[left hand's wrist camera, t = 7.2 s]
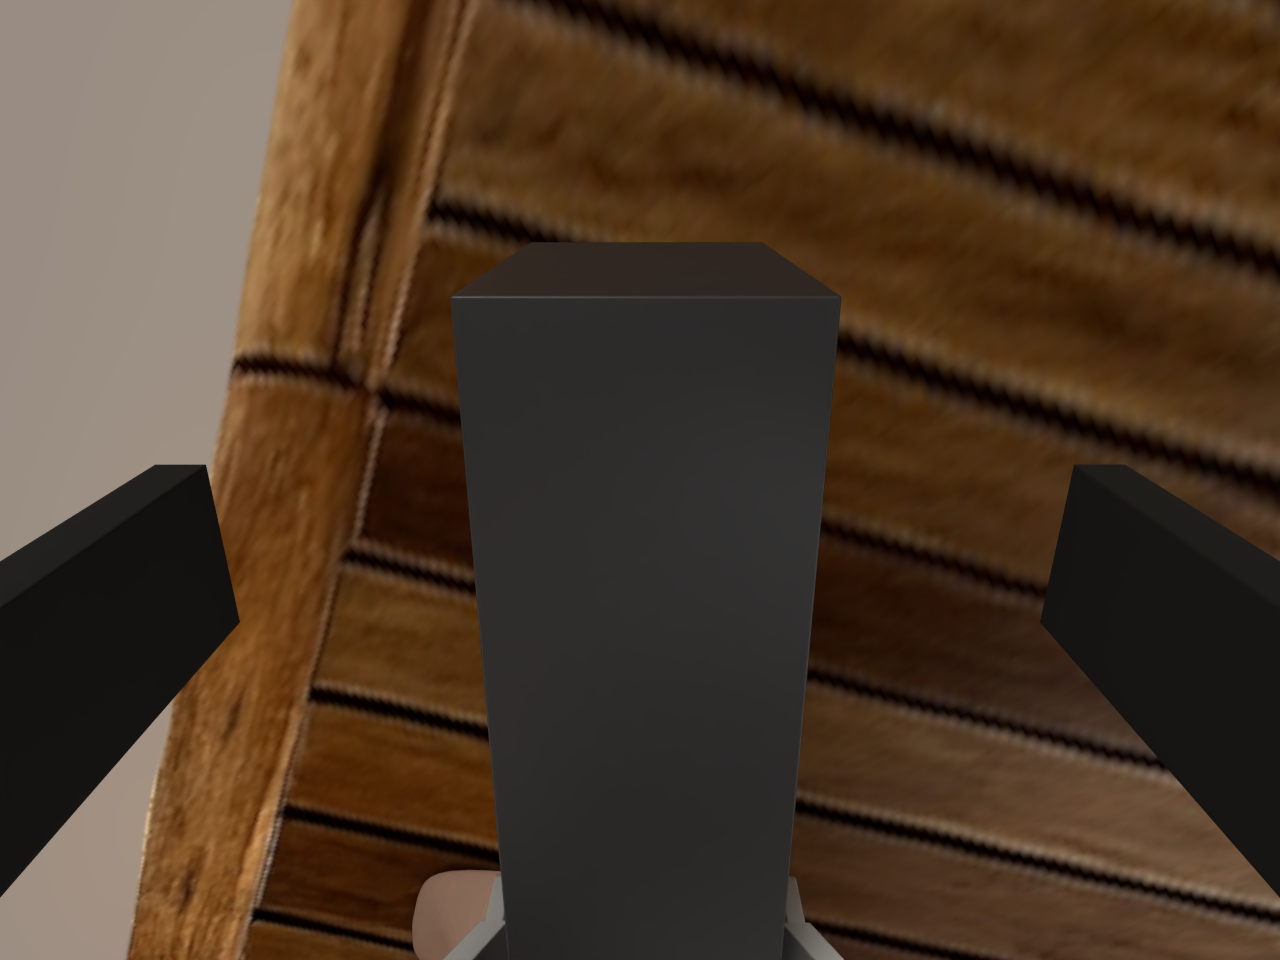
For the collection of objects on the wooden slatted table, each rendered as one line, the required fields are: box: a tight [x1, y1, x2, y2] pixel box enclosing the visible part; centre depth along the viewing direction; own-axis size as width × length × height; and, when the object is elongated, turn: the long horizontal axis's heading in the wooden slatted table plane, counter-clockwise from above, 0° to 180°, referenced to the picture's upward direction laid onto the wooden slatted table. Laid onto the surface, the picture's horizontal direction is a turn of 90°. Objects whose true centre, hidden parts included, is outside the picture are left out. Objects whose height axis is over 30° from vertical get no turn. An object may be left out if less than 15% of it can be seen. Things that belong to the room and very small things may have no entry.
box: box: [450, 242, 841, 960], centre depth 20 cm, size 22×6×9 cm, turn 0°
